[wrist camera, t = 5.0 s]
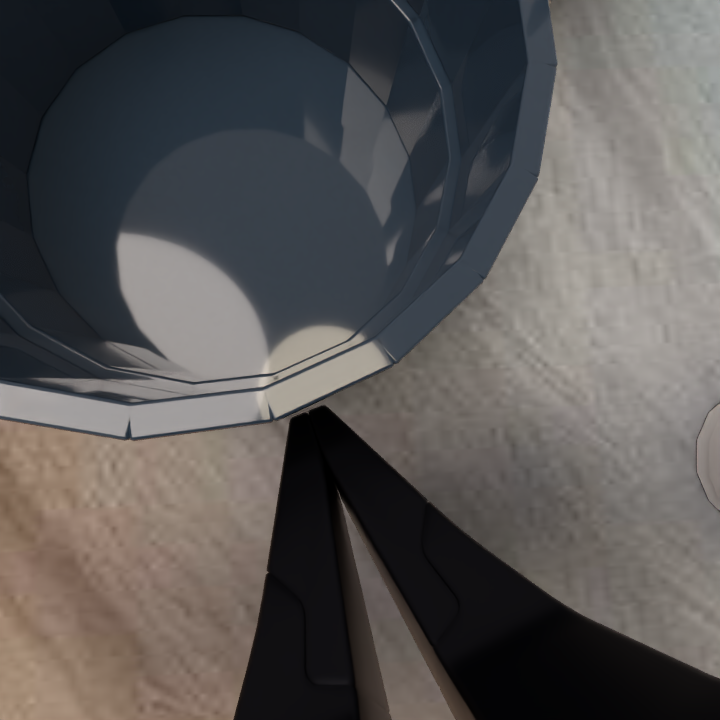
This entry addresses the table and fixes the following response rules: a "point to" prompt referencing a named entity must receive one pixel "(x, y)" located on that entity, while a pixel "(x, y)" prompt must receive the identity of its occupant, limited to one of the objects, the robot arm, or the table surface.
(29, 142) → the bowl
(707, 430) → the foam cup
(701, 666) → the table surface
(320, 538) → the robot arm
